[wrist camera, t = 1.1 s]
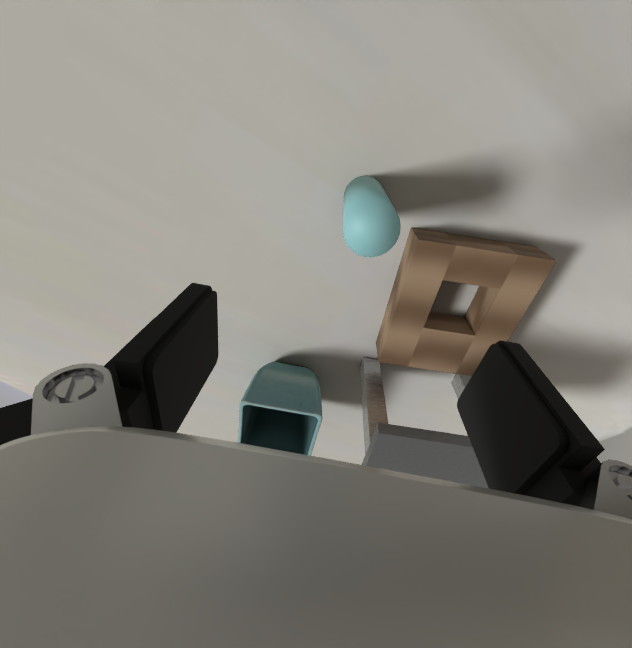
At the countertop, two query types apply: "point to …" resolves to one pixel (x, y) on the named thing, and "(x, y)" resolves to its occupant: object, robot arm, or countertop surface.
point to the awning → (413, 438)
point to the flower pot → (281, 409)
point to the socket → (484, 312)
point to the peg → (369, 218)
